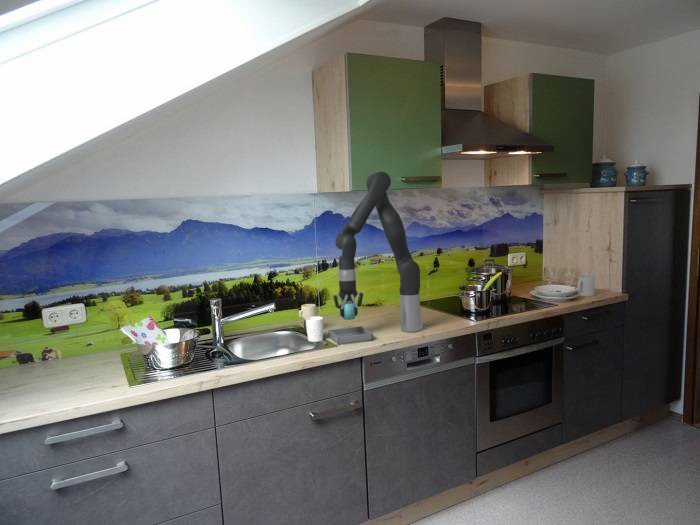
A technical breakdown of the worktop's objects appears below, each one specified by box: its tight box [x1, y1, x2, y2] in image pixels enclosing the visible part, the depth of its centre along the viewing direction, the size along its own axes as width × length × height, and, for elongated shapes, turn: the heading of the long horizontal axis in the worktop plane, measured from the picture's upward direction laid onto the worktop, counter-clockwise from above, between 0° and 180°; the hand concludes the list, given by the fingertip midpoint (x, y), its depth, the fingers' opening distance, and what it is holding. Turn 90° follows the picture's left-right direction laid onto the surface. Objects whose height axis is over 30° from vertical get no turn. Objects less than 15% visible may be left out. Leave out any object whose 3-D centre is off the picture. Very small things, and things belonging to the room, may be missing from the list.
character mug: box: [298, 303, 320, 333], centre depth 243 cm, size 11×7×13 cm, turn 127°
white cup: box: [306, 315, 324, 343], centre depth 228 cm, size 8×8×10 cm
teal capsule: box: [342, 301, 356, 321], centre depth 227 cm, size 5×5×7 cm
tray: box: [328, 325, 374, 346], centre depth 228 cm, size 16×16×3 cm
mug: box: [577, 275, 596, 297], centre depth 296 cm, size 12×8×11 cm
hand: (349, 316), depth 227 cm, fingers closed on teal capsule, 5 cm apart
